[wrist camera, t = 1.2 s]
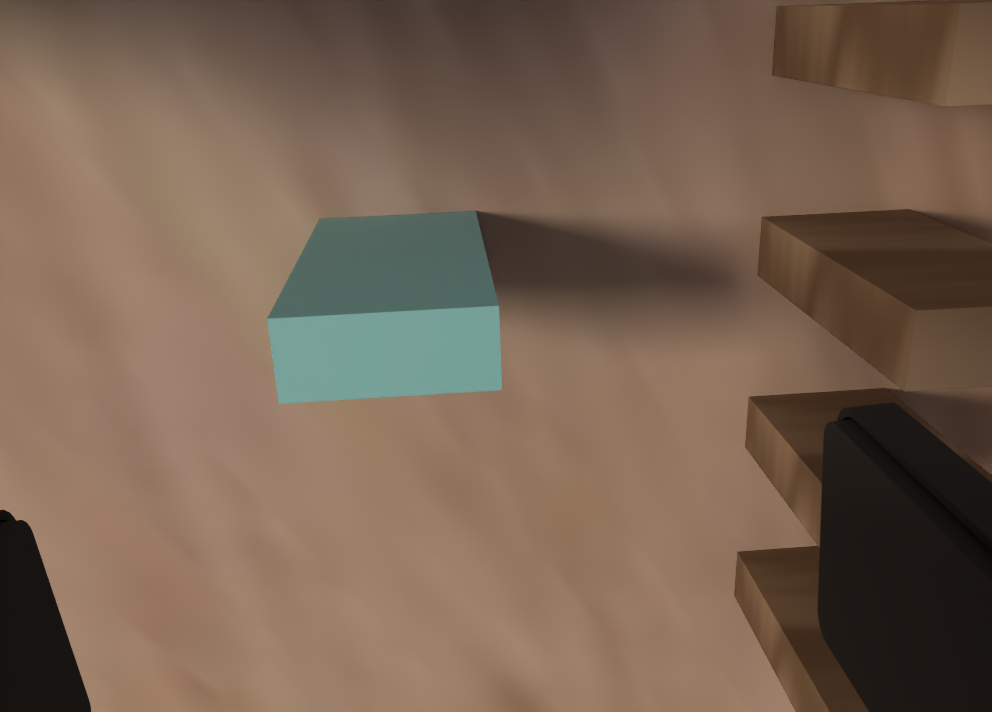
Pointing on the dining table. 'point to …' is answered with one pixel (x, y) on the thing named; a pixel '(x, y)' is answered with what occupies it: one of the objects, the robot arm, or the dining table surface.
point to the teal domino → (388, 311)
